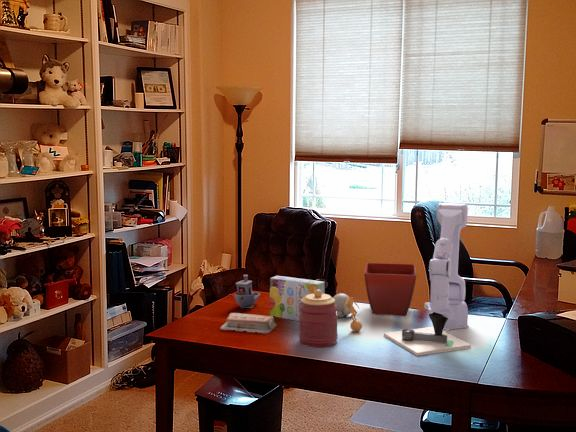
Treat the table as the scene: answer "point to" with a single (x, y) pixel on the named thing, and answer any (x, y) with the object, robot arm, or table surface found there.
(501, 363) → the table surface
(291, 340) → the table surface
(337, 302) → the chubby cartoon animal
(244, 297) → the toy boat
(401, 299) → the plant pot
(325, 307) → the canister
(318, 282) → the snack box
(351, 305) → the figurine
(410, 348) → the dial board
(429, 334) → the lever
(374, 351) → the table surface
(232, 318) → the butter dish
